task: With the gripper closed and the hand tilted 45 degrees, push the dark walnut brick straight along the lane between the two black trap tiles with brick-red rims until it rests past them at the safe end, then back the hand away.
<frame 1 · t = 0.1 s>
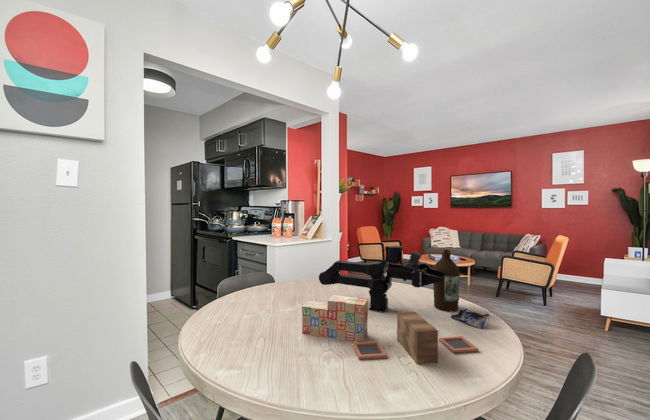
hand: (443, 276, 106), 17 cm above the table, tool horizontal, fingers open, 9 cm apart
snack package: (469, 322, 105), on the table
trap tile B: (368, 351, 82), on the table
stack of blocks: (334, 335, 94), on the table
walnut brick: (415, 351, 83), on the table
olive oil: (445, 308, 120), on the table
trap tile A: (457, 346, 86), on the table
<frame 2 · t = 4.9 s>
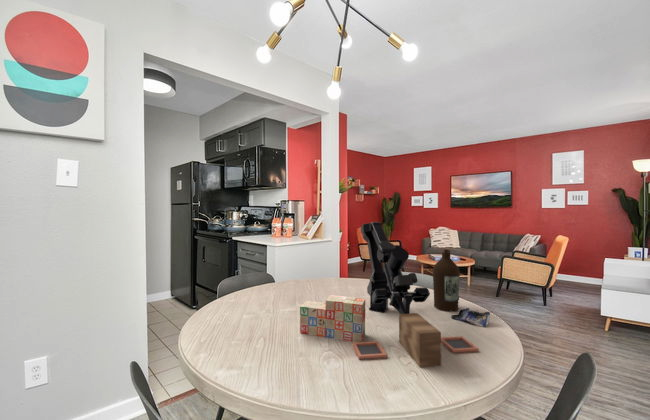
hand: (407, 320, 89), 7 cm above the table, tool tilted 45°, fingers closed, pressing on walnut brick
snack package: (469, 322, 106), on the table
walnut brick: (418, 353, 82), on the table, touching gripper
everything else where it was.
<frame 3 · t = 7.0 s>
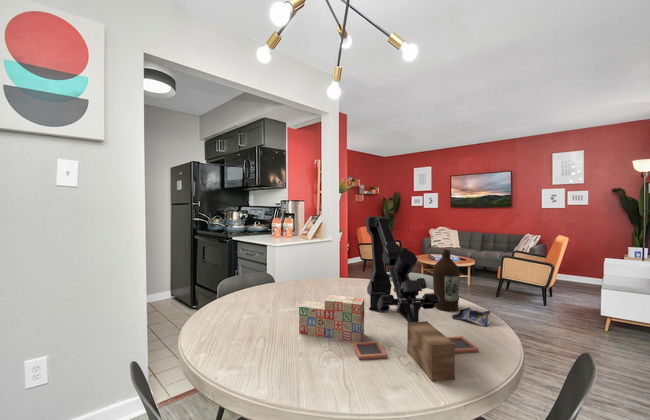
hand: (416, 329, 83), 7 cm above the table, tool tilted 45°, fingers closed
walnut brick: (429, 365, 76), on the table
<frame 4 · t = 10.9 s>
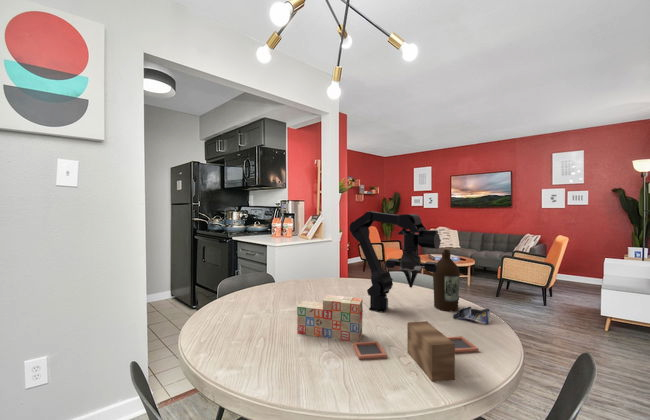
hand: (410, 287, 108), 12 cm above the table, tool pointing down, fingers closed
snack package: (470, 320, 107), on the table
at the end: walnut brick inside the target area (1.6 cm from its centre), on the table; walnut brick tilted 0°; walnut brick moved 7.7 cm from its start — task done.
